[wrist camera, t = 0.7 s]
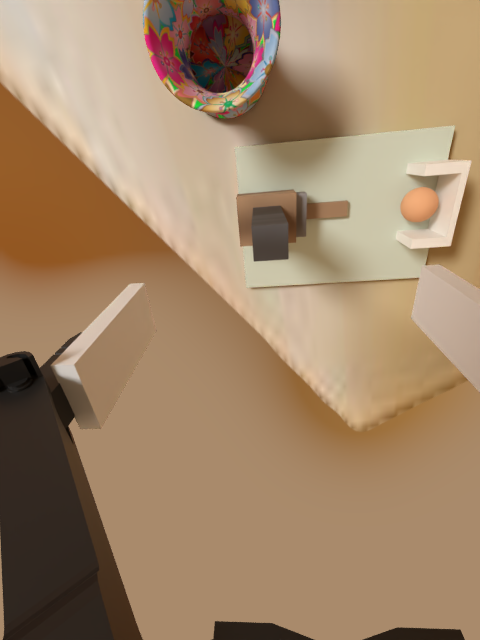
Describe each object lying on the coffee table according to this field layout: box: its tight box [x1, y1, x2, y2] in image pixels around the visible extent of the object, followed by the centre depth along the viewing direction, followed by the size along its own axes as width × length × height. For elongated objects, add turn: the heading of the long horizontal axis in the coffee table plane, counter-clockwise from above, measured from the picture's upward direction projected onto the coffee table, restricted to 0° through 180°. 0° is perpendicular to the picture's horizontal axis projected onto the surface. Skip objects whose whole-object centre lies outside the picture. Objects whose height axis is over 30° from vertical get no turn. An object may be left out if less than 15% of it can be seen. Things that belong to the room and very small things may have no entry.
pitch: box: [235, 126, 455, 288], centre depth 35 cm, size 16×22×2 cm
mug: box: [143, 0, 281, 119], centre depth 25 cm, size 12×9×11 cm
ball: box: [400, 187, 439, 222], centre depth 32 cm, size 4×4×4 cm
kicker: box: [236, 189, 307, 262], centre depth 29 cm, size 5×7×12 cm
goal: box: [396, 160, 472, 249], centre depth 32 cm, size 8×4×4 cm, turn 5°
